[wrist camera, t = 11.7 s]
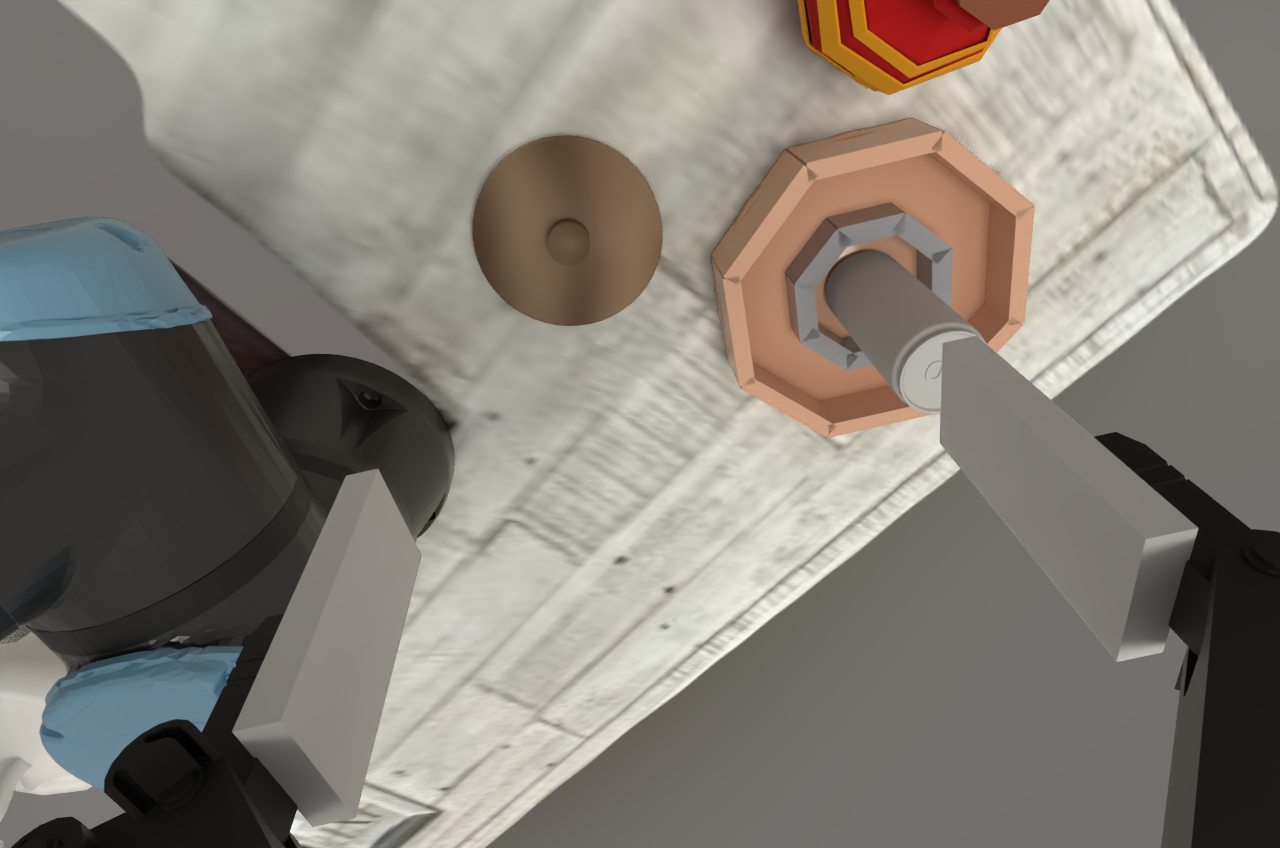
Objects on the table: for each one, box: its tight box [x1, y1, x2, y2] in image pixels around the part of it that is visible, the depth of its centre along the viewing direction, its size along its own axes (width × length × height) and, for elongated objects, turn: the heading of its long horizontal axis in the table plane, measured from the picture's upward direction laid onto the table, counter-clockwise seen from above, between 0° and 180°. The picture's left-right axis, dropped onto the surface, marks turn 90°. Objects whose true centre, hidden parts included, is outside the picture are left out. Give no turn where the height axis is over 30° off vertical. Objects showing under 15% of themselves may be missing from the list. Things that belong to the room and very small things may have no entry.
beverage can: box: [826, 251, 986, 414], centre depth 40 cm, size 5×5×12 cm
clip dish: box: [711, 118, 1034, 437], centre depth 44 cm, size 18×18×4 cm
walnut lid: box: [473, 136, 662, 326], centre depth 42 cm, size 11×11×3 cm
